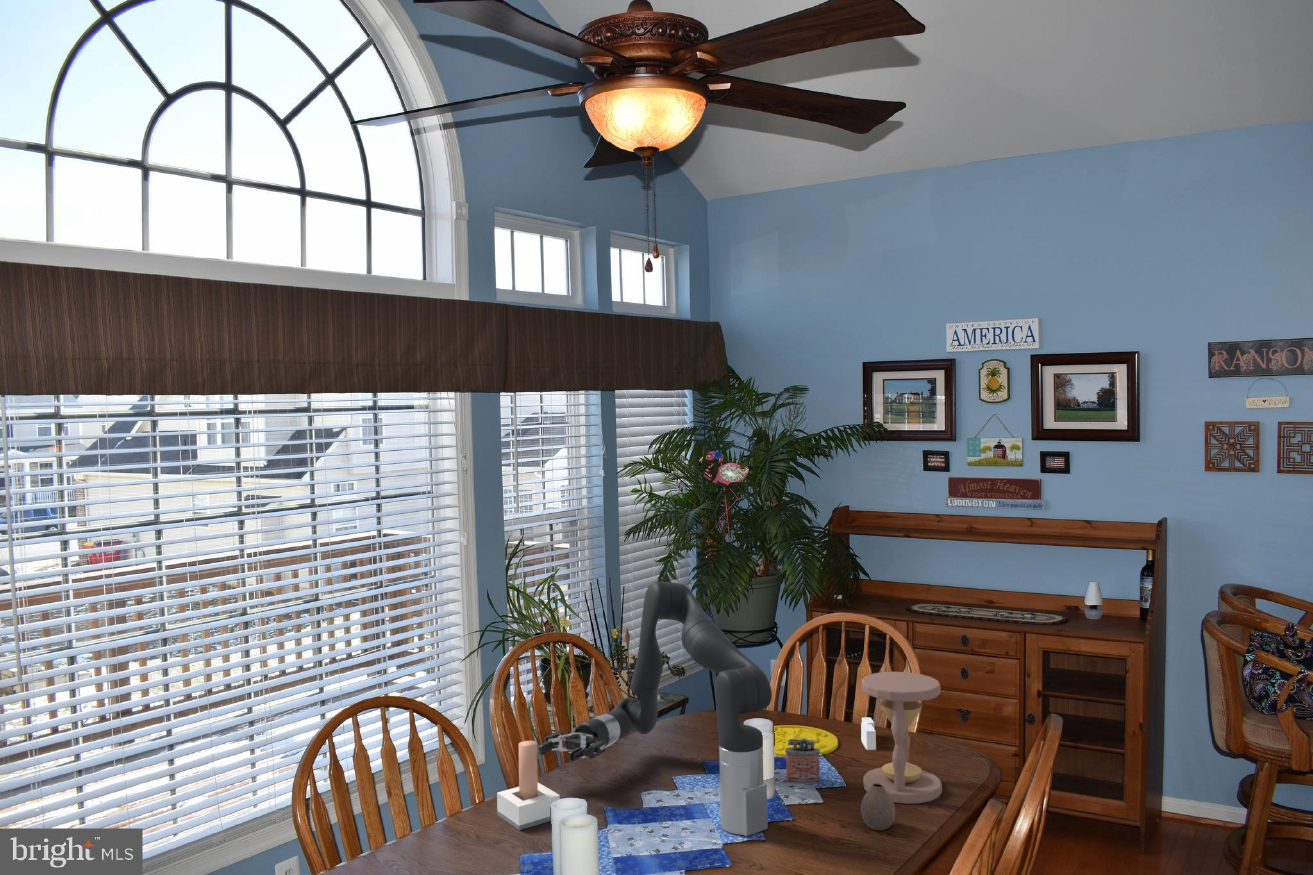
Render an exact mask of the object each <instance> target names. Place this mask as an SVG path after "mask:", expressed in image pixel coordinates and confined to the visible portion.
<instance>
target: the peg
mask: <svg viewBox="0 0 1313 875" xmlns="http://www.w3.org/2000/svg"><path fill="white" fill-rule="evenodd" d="M538 775H539V774H538V743H537V741H535V740H525V741H521V742H519V743H518V782H519V783H518V787H519V799H521V800H522V801H525V800H528V799H532V798H535V797H538V783H539V781H538V780H539V779H538V777H539V776H538Z"/></svg>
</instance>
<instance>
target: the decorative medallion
mask: <svg viewBox="0 0 1313 875" xmlns="http://www.w3.org/2000/svg"><path fill="white" fill-rule="evenodd" d="M773 726H774V731H775V732H774V733H775V754H776V756H775V757H777V756H786V753H785V749H786V748H790V747H794V745H788V740H789V739H798V740H801V739H802V738H806V739H807V740H814V748H818V749H819V750H820V754H825V755H827V754H830V753H832V752H834V751H835V750H836V749H838V746H839V740H838V738H837V736H836V735H834V734H833V733H831V732H829V731H827V730H824V729H821V728H816V727H812V726H806V725H792V724H791V725H789V724H787V725H785V724H784V725H782V724H781V725H773ZM797 747H799V746H798V745H797ZM809 747H810V746H809ZM810 748H811V747H810Z"/></svg>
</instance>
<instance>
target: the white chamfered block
mask: <svg viewBox="0 0 1313 875" xmlns="http://www.w3.org/2000/svg"><path fill="white" fill-rule="evenodd" d="M860 727H861V728H860V732H861V733H860V735H861V738H860V739H861V743H862V745H863V747H864V748H865V750H866V751H876V750H877V739H876V738H877V732H876V730H875V721H874V720H873V719H872V717H865V716H864V717H861V722H860Z"/></svg>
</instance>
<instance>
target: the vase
mask: <svg viewBox="0 0 1313 875" xmlns="http://www.w3.org/2000/svg"><path fill="white" fill-rule="evenodd" d="M860 808H861V809H860V811H861V816H862V819H863V822H864V823H865V824H866V826H867V827H869V829H871V830H873V831H885V830H887V829H889V828H890V827H891V826H892V825H893V822H894V820H895V816H896V806H895V802H893V800H892V798H891V796H890V795H889V794H888V792H887V791H886V790H885V788H884V786H883V785H882V784H880V783H874V784H872V786H871V788H870V789H869V791H868V792H867V791H866V793H865V794H864V796H863V798H862V800H861V805H860Z"/></svg>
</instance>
